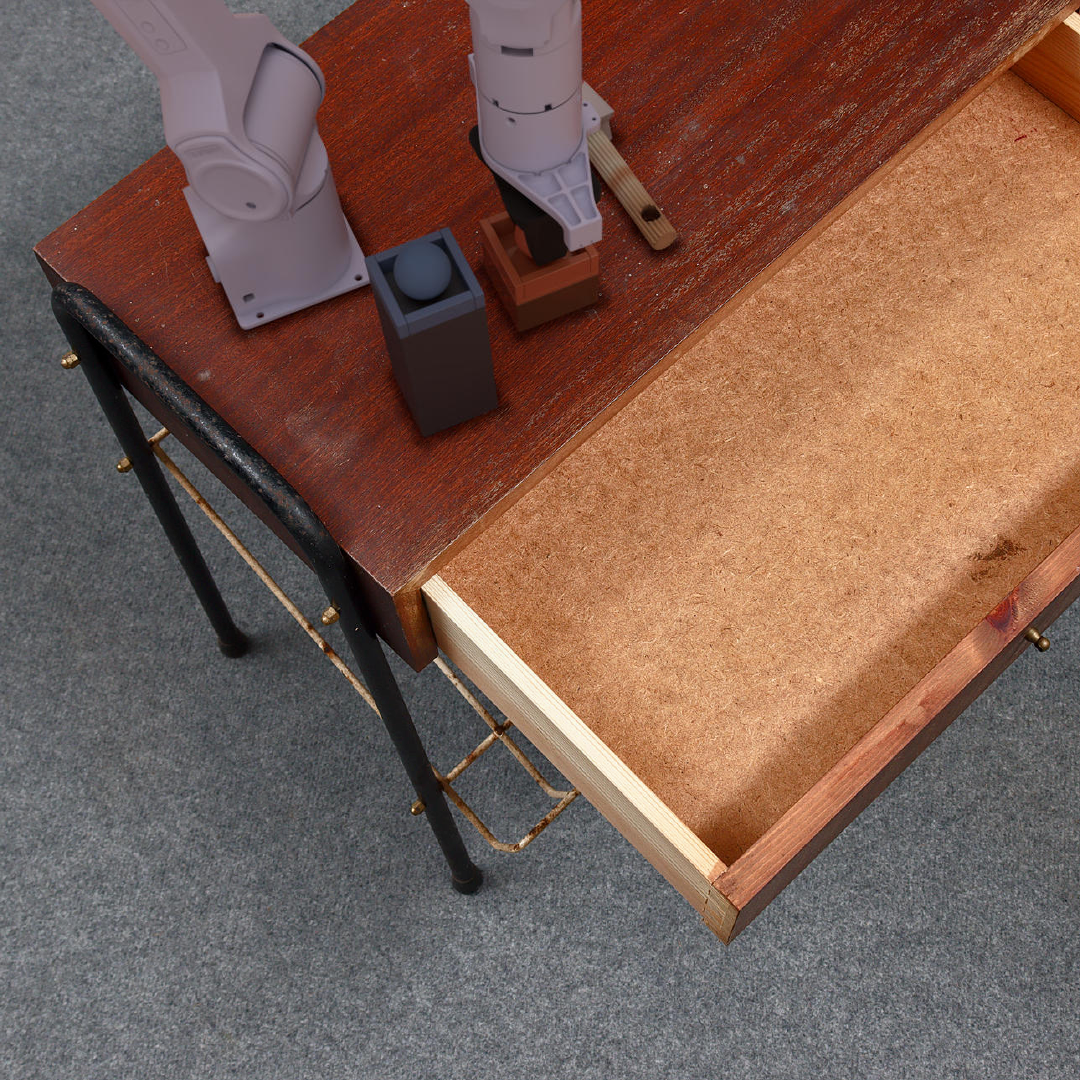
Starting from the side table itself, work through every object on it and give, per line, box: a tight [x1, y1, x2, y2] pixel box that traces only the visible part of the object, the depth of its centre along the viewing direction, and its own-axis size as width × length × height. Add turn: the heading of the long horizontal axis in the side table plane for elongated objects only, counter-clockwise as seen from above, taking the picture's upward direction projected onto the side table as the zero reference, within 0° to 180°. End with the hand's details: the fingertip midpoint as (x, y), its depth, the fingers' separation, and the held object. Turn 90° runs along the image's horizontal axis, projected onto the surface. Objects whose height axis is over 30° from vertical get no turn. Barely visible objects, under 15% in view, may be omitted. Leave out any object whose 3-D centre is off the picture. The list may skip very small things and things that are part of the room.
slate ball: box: [394, 242, 451, 300], centre depth 70 cm, size 3×3×3 cm
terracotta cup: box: [478, 210, 600, 333], centre depth 83 cm, size 6×6×5 cm
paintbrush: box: [582, 78, 678, 251], centre depth 89 cm, size 4×3×20 cm
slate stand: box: [364, 226, 499, 439], centre depth 76 cm, size 5×5×12 cm
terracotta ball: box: [515, 224, 533, 259], centre depth 80 cm, size 3×3×3 cm
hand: (538, 236), depth 81 cm, fingers closed on terracotta ball, 3 cm apart
